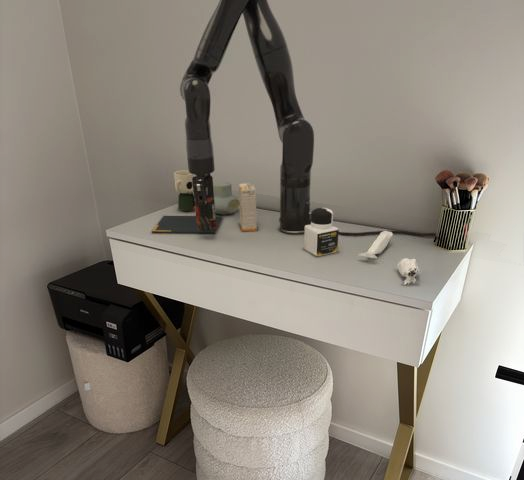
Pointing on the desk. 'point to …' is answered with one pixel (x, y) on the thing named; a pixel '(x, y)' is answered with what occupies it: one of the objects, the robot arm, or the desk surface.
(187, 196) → the character mug
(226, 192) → the grey green rounded piece
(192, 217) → the mat
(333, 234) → the medicine bottle
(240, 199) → the supplement box
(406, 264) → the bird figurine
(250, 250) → the desk surface
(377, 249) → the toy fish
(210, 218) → the deodorant
